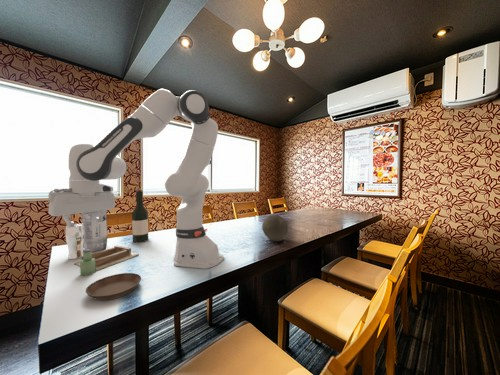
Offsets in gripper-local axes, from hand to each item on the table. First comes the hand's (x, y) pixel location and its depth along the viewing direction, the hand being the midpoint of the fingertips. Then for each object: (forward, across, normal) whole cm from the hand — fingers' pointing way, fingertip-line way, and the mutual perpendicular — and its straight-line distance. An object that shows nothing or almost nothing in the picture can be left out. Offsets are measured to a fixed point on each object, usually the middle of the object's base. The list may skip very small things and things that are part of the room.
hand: (85, 224), depth 76 cm
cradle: (+19, +12, +7) cm, 23 cm away
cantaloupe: (+18, +67, -54) cm, 88 cm away
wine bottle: (+19, +38, +20) cm, 47 cm away
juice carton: (+19, +18, +28) cm, 38 cm away
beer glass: (+19, +8, +24) cm, 32 cm away
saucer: (+19, -3, -22) cm, 30 cm away
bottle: (+19, 0, 0) cm, 19 cm away
